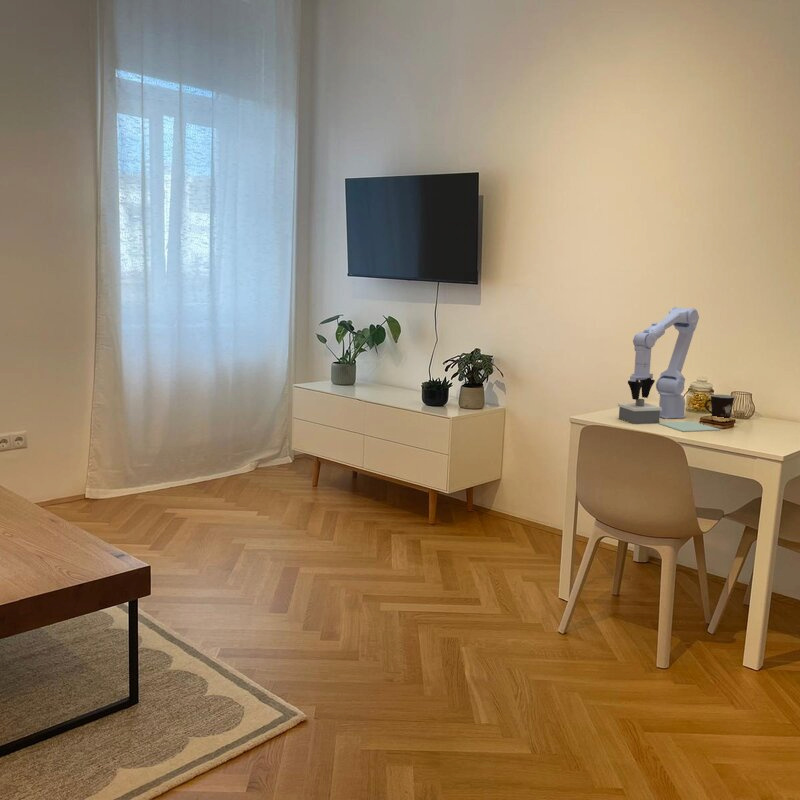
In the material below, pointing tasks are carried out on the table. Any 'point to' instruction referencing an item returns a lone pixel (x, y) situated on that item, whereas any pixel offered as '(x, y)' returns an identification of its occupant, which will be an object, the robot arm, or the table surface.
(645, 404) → the lid
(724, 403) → the coffee mug
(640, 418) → the box
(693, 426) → the mat
